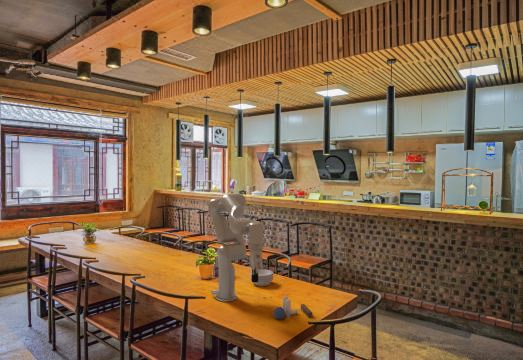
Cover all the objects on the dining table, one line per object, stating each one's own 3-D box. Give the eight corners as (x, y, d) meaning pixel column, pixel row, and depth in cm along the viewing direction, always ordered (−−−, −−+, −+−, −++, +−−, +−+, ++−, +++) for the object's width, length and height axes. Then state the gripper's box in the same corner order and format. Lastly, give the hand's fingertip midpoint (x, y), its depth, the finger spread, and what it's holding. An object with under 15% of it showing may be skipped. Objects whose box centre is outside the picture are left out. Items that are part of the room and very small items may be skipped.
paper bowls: (253, 279, 242) (253, 268, 242) (274, 281, 239) (275, 269, 239) (248, 286, 228) (248, 274, 227) (271, 288, 224) (271, 276, 224)
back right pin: (285, 317, 180) (286, 301, 180) (285, 315, 183) (286, 299, 182) (290, 317, 180) (290, 301, 180) (290, 315, 182) (290, 299, 182)
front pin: (281, 310, 182) (297, 309, 184) (280, 310, 184) (295, 309, 186) (282, 315, 182) (297, 314, 184) (280, 315, 184) (296, 314, 186)
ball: (283, 321, 179) (271, 318, 179) (285, 310, 183) (274, 307, 183) (284, 319, 174) (273, 316, 174) (287, 307, 178) (275, 304, 178)
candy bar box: (222, 272, 259) (222, 250, 258) (226, 273, 255) (227, 251, 255) (210, 275, 250) (210, 252, 250) (215, 276, 247) (215, 253, 246)
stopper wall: (308, 317, 180) (308, 312, 180) (300, 308, 192) (300, 304, 192) (312, 317, 181) (312, 312, 181) (304, 308, 193) (304, 303, 192)
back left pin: (282, 313, 185) (283, 297, 185) (283, 311, 188) (283, 295, 187) (287, 313, 185) (287, 297, 185) (287, 312, 187) (287, 296, 187)
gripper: (266, 249, 172) (265, 286, 173) (259, 243, 187) (258, 276, 187) (251, 250, 170) (250, 287, 171) (245, 243, 185) (244, 277, 186)
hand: (254, 281), depth 179 cm, fingers closed
